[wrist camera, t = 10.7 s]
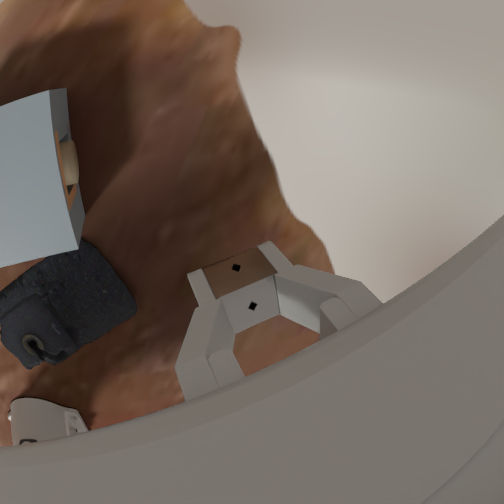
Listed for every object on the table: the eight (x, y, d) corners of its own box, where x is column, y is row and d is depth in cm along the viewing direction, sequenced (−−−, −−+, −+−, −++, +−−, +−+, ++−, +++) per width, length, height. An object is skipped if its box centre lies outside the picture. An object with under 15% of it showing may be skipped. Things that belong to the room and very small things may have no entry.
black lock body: (150, 307, 39) (156, 332, 36) (47, 363, 37) (46, 387, 33) (85, 225, 29) (81, 246, 26) (-20, 304, 27) (-28, 329, 23)
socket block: (85, 215, 28) (78, 249, 23) (-2, 237, 24) (-21, 272, 19) (66, 87, 20) (48, 90, 15) (-30, 121, 16) (-63, 136, 11)
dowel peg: (80, 175, 24) (74, 189, 21) (-15, 202, 20) (-29, 219, 17) (74, 136, 22) (67, 145, 19) (-24, 167, 18) (-40, 180, 15)
